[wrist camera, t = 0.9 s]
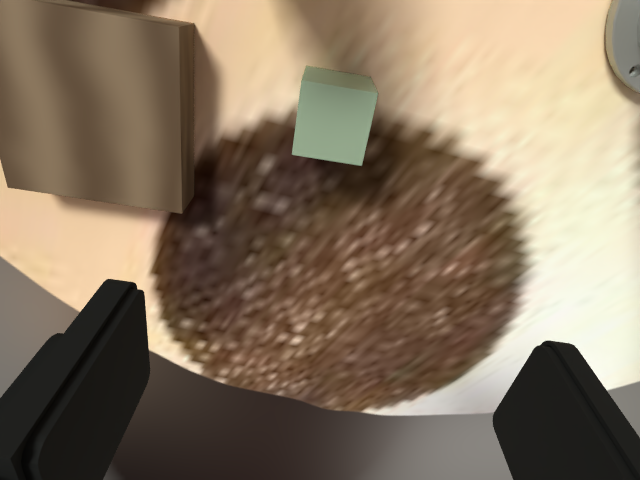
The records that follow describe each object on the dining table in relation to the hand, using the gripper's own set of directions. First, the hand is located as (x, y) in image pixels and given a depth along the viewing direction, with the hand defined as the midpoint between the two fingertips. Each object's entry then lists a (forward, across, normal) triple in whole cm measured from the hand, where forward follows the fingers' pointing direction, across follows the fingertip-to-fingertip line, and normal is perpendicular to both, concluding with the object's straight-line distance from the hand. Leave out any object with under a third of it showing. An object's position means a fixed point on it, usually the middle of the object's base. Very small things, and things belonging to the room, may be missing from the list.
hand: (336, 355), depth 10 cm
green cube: (+26, 0, 0) cm, 26 cm away
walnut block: (+27, +18, +3) cm, 32 cm away
